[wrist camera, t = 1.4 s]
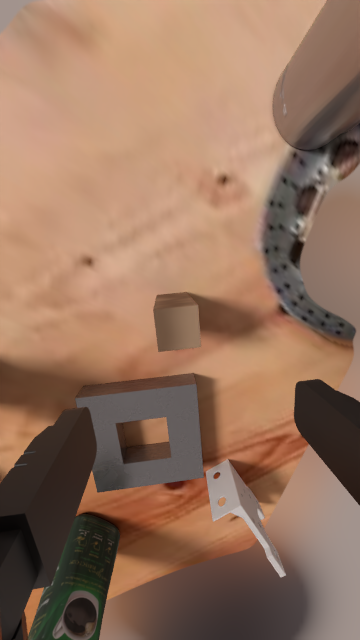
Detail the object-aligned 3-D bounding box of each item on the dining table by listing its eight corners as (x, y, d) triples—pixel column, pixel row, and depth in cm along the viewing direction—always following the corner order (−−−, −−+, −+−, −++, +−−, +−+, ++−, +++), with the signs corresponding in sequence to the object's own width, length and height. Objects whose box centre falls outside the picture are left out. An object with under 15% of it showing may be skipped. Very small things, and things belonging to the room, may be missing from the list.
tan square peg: (186, 292, 29) (198, 305, 19) (189, 320, 30) (201, 347, 20) (156, 295, 29) (153, 309, 19) (160, 323, 30) (158, 351, 20)
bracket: (205, 466, 38) (213, 529, 28) (226, 454, 37) (243, 513, 27) (237, 513, 39) (257, 589, 29) (258, 502, 39) (285, 574, 29)
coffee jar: (55, 534, 37) (-45, 781, 20) (80, 504, 36) (-2, 738, 18) (103, 554, 39) (52, 795, 22) (128, 527, 38) (97, 757, 20)
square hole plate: (193, 373, 32) (196, 384, 29) (200, 460, 36) (203, 477, 33) (83, 386, 31) (75, 398, 28) (103, 473, 35) (97, 492, 32)
